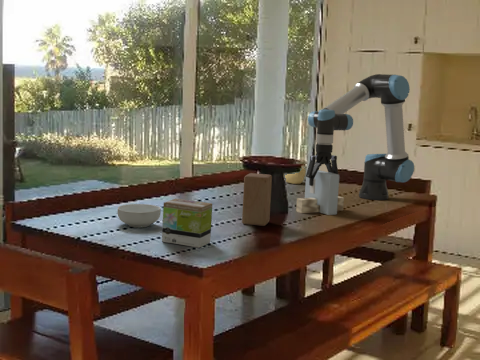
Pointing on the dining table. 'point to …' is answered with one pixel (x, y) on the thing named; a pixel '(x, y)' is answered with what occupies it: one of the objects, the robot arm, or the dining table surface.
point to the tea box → (187, 222)
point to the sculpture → (296, 177)
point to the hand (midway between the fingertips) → (321, 192)
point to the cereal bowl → (139, 214)
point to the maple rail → (314, 205)
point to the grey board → (324, 191)
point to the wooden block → (256, 199)
